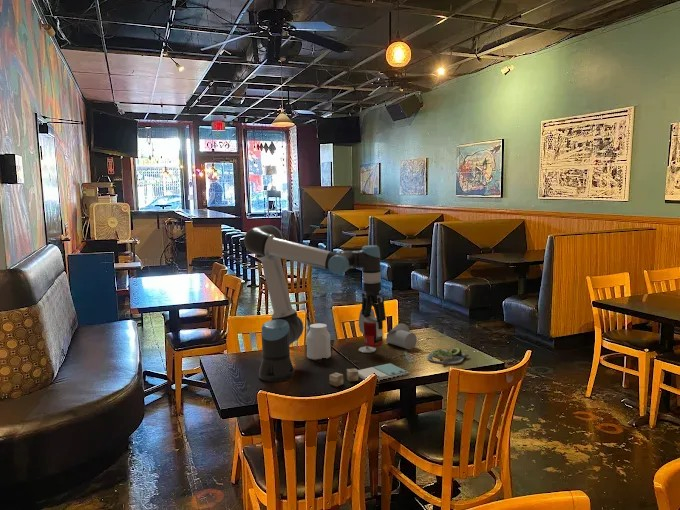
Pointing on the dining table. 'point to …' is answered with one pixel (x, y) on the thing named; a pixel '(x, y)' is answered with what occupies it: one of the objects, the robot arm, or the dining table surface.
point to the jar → (318, 342)
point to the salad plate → (447, 356)
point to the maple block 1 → (336, 379)
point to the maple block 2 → (352, 374)
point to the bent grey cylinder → (401, 337)
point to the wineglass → (361, 327)
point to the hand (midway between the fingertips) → (374, 333)
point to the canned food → (371, 333)
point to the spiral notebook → (382, 372)
